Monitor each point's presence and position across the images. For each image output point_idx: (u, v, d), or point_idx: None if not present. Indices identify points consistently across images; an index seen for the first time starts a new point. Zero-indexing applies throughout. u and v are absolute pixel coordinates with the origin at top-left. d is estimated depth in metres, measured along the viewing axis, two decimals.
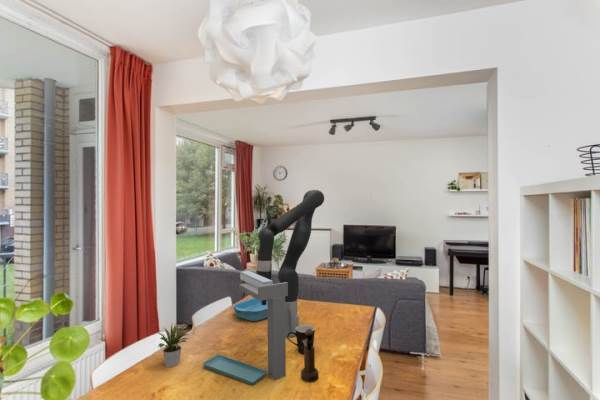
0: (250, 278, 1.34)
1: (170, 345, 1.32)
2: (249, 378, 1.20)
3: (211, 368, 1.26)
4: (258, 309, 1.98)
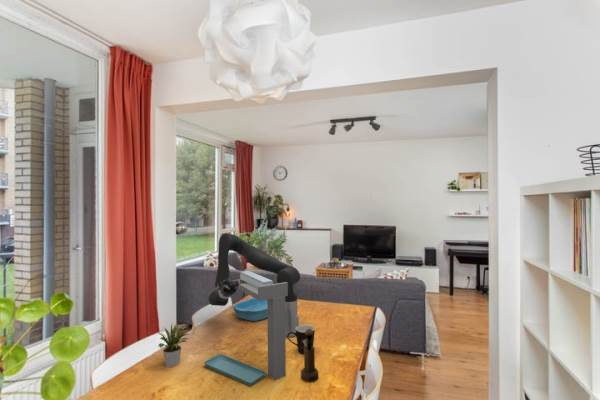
0: (250, 278, 1.34)
1: (170, 345, 1.32)
2: (248, 379, 1.19)
3: (211, 367, 1.26)
4: (258, 309, 1.98)
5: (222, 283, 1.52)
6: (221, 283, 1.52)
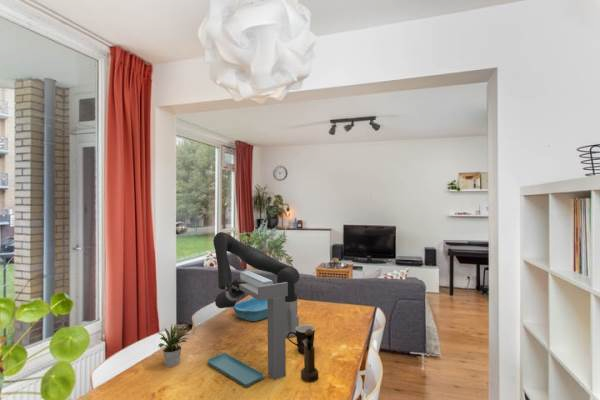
0: (250, 278, 1.34)
1: (170, 345, 1.32)
2: (245, 380, 1.19)
3: (213, 366, 1.28)
4: (258, 309, 1.98)
5: (230, 284, 1.42)
6: (229, 284, 1.42)
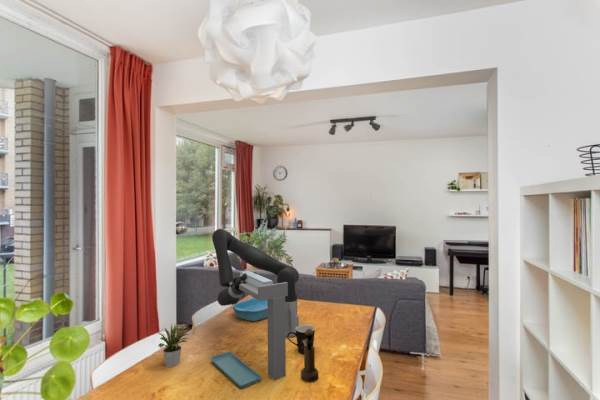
0: (250, 278, 1.34)
1: (170, 345, 1.32)
2: (242, 381, 1.18)
3: (215, 364, 1.29)
4: (258, 309, 1.98)
5: (239, 279, 1.39)
6: (238, 279, 1.39)
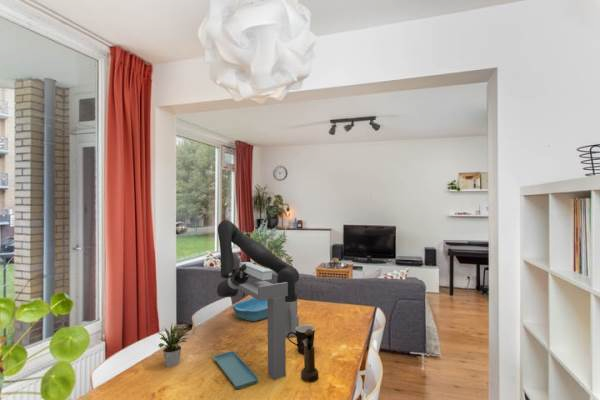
0: (249, 268, 1.34)
1: (170, 345, 1.32)
2: (240, 381, 1.18)
3: (217, 363, 1.30)
4: (258, 309, 1.98)
5: (238, 269, 1.40)
6: (237, 269, 1.40)
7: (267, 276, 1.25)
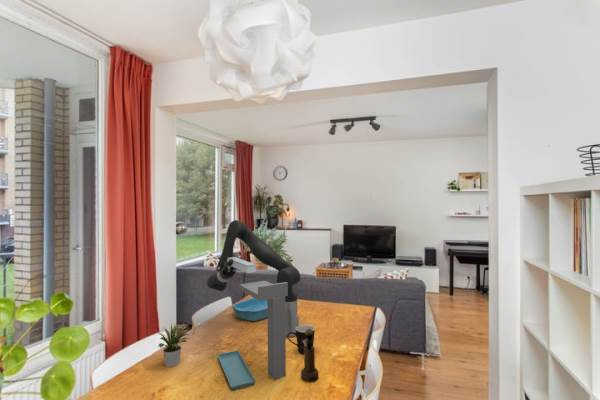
0: (236, 263, 1.48)
1: (170, 345, 1.32)
2: (237, 382, 1.17)
3: (220, 361, 1.31)
4: (258, 309, 1.98)
5: (226, 264, 1.53)
6: (225, 264, 1.53)
7: (251, 269, 1.38)
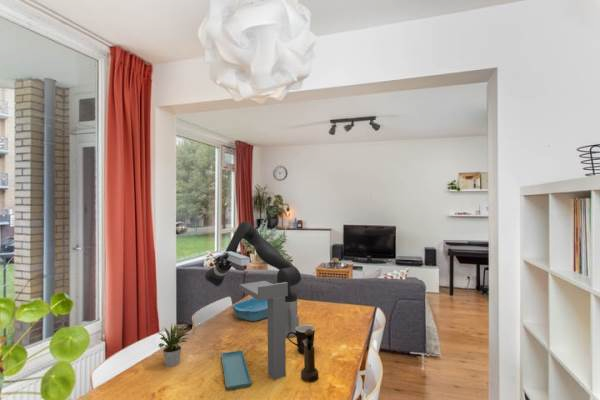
0: (231, 256, 1.52)
1: (170, 345, 1.32)
2: (234, 382, 1.17)
3: (222, 360, 1.32)
4: (258, 309, 1.98)
5: (222, 257, 1.57)
6: (221, 257, 1.58)
7: (245, 262, 1.42)
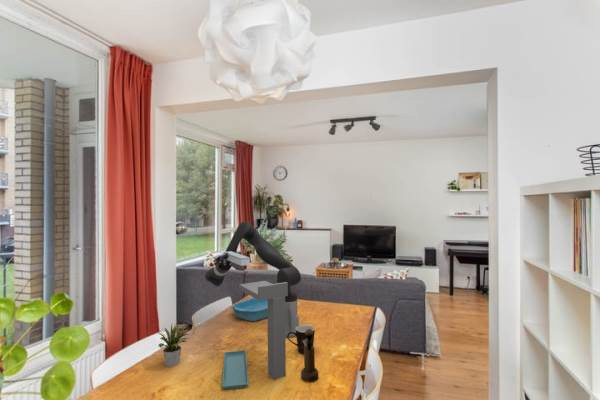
0: (231, 256, 1.52)
1: (170, 345, 1.32)
2: (232, 382, 1.17)
3: None
4: (258, 309, 1.98)
5: (222, 257, 1.57)
6: (221, 257, 1.58)
7: (245, 262, 1.42)
